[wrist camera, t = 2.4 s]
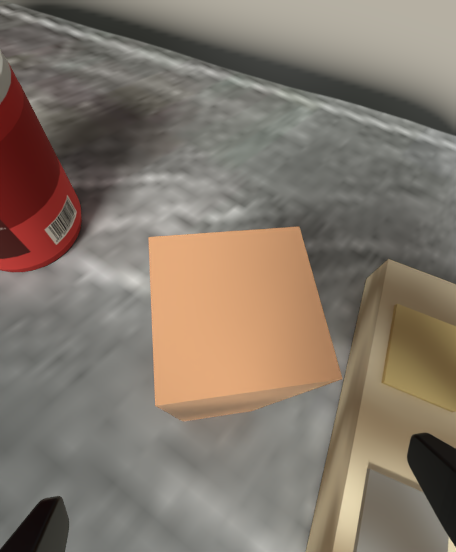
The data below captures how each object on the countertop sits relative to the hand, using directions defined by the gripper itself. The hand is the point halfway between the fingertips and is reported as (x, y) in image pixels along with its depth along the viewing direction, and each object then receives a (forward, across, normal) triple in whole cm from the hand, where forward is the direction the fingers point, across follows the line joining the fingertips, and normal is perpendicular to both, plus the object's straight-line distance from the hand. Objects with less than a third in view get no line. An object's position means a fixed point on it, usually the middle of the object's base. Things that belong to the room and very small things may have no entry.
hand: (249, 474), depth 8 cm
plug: (+10, 0, +5) cm, 11 cm away
